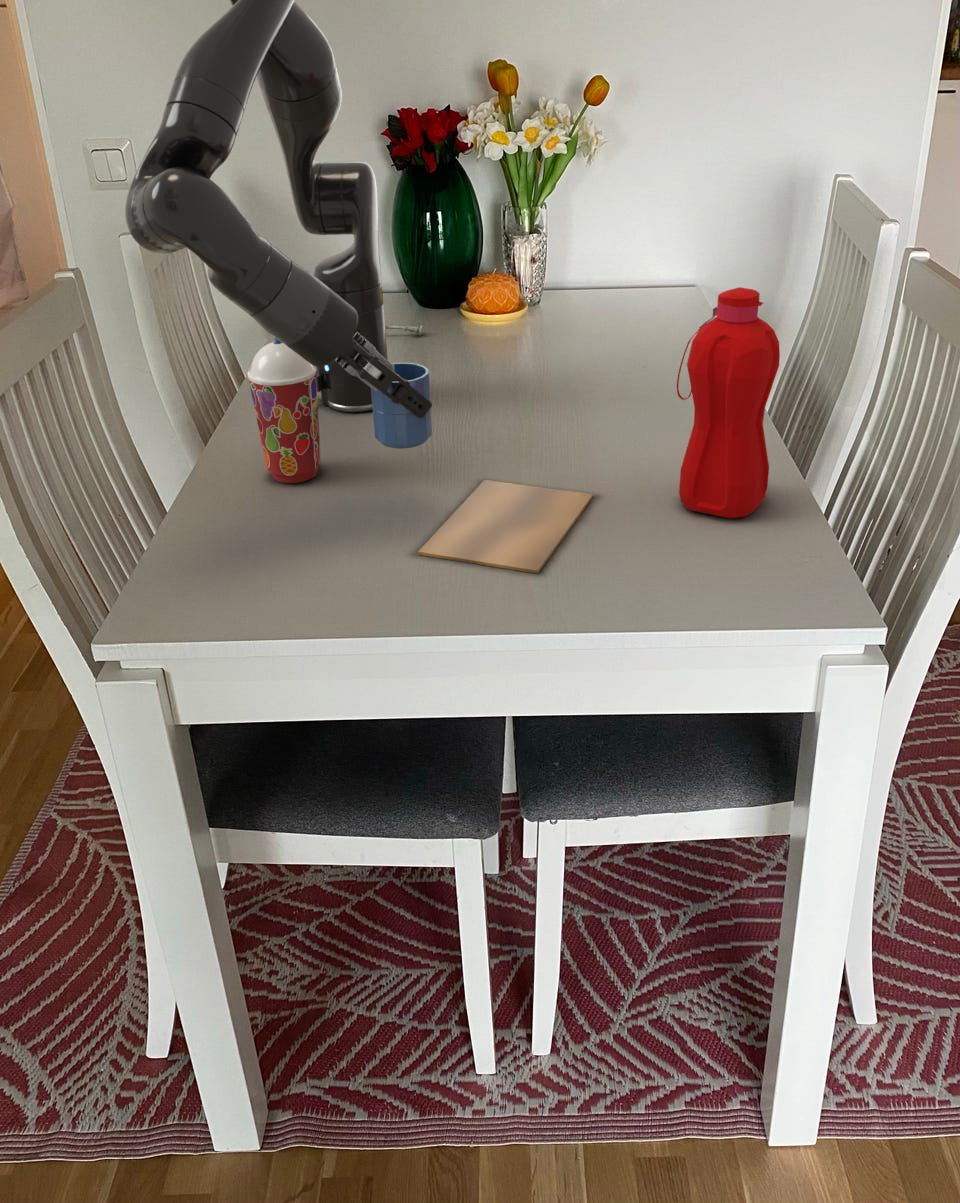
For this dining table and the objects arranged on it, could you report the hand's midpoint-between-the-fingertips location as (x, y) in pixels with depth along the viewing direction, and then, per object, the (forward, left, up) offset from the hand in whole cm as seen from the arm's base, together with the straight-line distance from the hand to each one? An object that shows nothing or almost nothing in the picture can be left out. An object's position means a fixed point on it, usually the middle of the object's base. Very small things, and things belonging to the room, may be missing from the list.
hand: (414, 400), depth 130 cm
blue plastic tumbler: (-1, -1, -4) cm, 5 cm away
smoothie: (-19, +4, -14) cm, 24 cm away
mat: (+12, -1, -13) cm, 18 cm away
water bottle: (+33, +12, -14) cm, 37 cm away
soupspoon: (-38, +58, -14) cm, 70 cm away
